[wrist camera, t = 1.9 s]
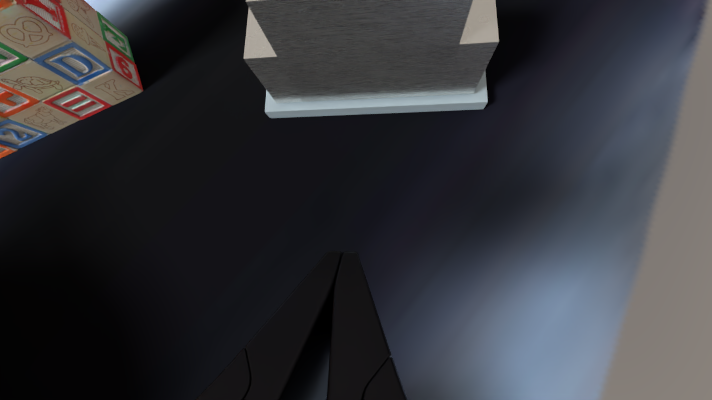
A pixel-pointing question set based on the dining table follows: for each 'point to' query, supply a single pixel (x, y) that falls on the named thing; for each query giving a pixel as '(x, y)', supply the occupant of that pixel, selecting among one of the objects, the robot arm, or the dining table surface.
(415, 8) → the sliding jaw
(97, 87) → the stack of blocks
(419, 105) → the pale blue base plate
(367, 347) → the robot arm
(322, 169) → the dining table surface
